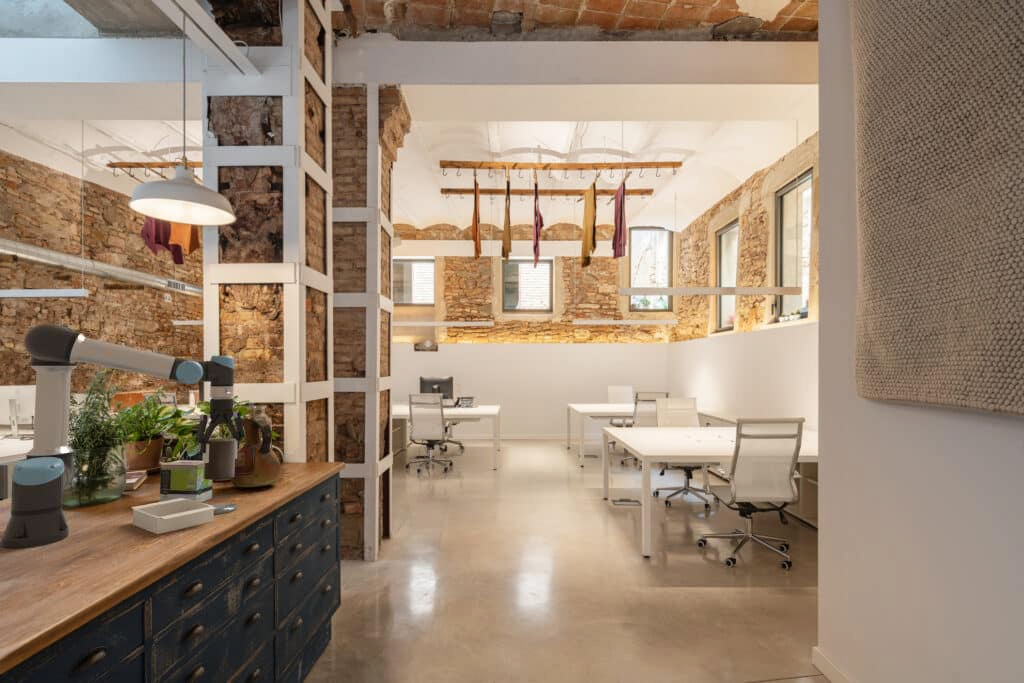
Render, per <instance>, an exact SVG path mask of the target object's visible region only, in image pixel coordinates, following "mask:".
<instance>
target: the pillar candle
mask: <svg viewBox="0 0 1024 683" xmlns="http://www.w3.org/2000/svg"><path fill="white" fill-rule="evenodd" d="M206 444H209V463H205V468H204V478H205V479H209V480H214V481H219V480H221V481H222V480H228V479H231V478H232V477H234V470H235V444H236V439H235V438H233V437H222V435H220V436H219V437H214V438H213V437H211V438H209V440H208V442H207V443H206Z"/></svg>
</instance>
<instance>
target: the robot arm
mask: <svg viewBox="0 0 1024 683" xmlns="http://www.w3.org/2000/svg"><path fill="white" fill-rule="evenodd" d="M23 345H24V349H25V351H26V352H27V353H28V354H29V356H30V367H31V369H33V370H34V371H35V372H36V374H35V375H36V376H35V377H36V378H35V379H36V380H35V397H34V398H35V399H34V400H35V401H34V402H35V403H34V421H33V423H34V424H33V441H32V442H33V444H32V448H31V449H30V450H29V451H27V452H26V458H25V460H22V461H19V462H18V463H16V464H15V465H14V467H13V469H12V473H11V479H12V480H11V501H10V502H11V504H10V506H11V507H10V518H9V520H8V522H7V524H6V526H5V529H4V531H3V533H2V536H1V545H0V546H1V547H4V548H8V549H9V548H10V549H20V548H31V547H38V546H44V545H47V544H48V545H49V544H51V543H55V542H58V541H62V540H64V539H66V538H67V537H68V536H69V530H70V529H69V525H68V523H67V520H66V518H65V515H64V512H63V498H64V497H63V496H64V489H66V488H68V486H69V485H70V484H71V483H72V482H73V480H74V478H75V475H76V465H75V463H74V449H73V448H71V447H70V446H69V426H70V425H69V424H70V404H71V403H70V402H71V401H70V399H71V397H70V396H71V381H72V377H71V376H72V372H73V371H74V370H75V369H76V368H78V362H79V363H85V364H89V365H90V364H91V365H95V366H100V367H105V368H111V369H116V370H121V371H126V372H130V373H135V374H140V375H146V376H149V377H150V376H151V377H155V378H161V379H164V380H171V381H173V382H175V383H181V384H186V385H192V384H193V385H194V384H196V383H202V382H204V383H205V382H206V383H207V382H208V383H209V382H210V383H209V384H210V385H209V386H210V387H209V388H210V390H209V392H210V393H209V397H210V399H209V412H208V413H207V414H206V413H205V414H200V417H199V418H200V422H199V424H198V428H197V433H196V435H195V440H194V442H195V443H198V444H199V445H200V454H202V461H203V462H205V463H209V444H206V443H207V442H208V440H209V439H211V436H212V435H213V433H214V431H215V429H216V428H217V426H218V425H222V424H223V425H225V426H226V427H227V429H228V431H229V433H230V435H231V436H232V437H231V438H235V439H236V444H235V459H237V453H238V450H240V441H242V439H244V438H246V435H245V430H244V427H243V425H242V421H241V420H242V412H241V411H233V408H234V399H233V397H234V384H235V383H234V381H235V358H234V357H233V356H232V355H212V356H211V357H210V360H189V359H186V358H181V357H176V356H170V355H167V354H162V353H157V352H153V351H148V350H143V349H139V348H134V347H129V346H125V345H121V344H116V343H111V342H107V341H103V340H99V339H93V338H89V337H86V336H85V335H84V334H83V333H82V332H77V331H75V330H73V329H72V328H70V327H68V326H66V325H61V324H55V323H42V324H41V323H40V324H38V325H35V326H33V327H32V328H30V329H29V330H28V331H27V332H26V333H25V335H24V337H23ZM232 417H233V420H234V422H233V420H232ZM209 419H210V422H209V423H208V421H209ZM207 424H208V425H207ZM234 424H235V426H234Z"/></svg>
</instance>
